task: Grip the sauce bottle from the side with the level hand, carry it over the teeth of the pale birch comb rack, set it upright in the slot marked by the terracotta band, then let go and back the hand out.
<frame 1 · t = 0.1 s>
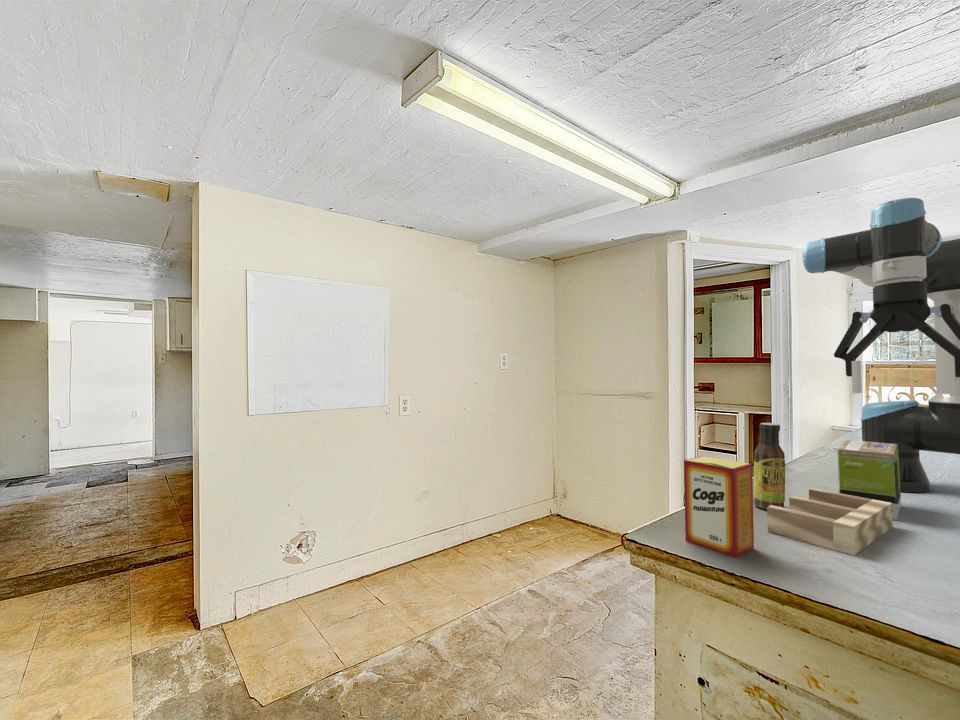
hand: (902, 394, 85), 28 cm above the counter, tool pointing down, fingers open, 13 cm apart
comb rack: (816, 525, 93), on the counter
sauce bottle: (769, 508, 105), on the counter
tea box: (870, 509, 104), on the counter
baking soda box: (718, 545, 85), on the counter
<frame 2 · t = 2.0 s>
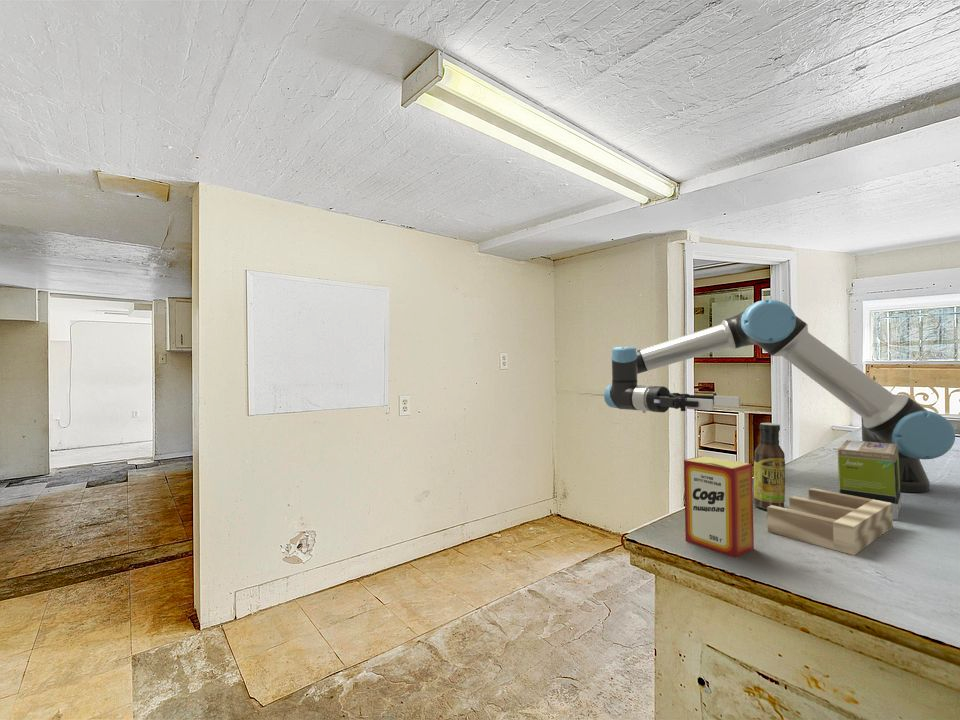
hand: (726, 403, 113), 24 cm above the counter, tool horizontal, fingers open, 13 cm apart
nothing on the counter moved.
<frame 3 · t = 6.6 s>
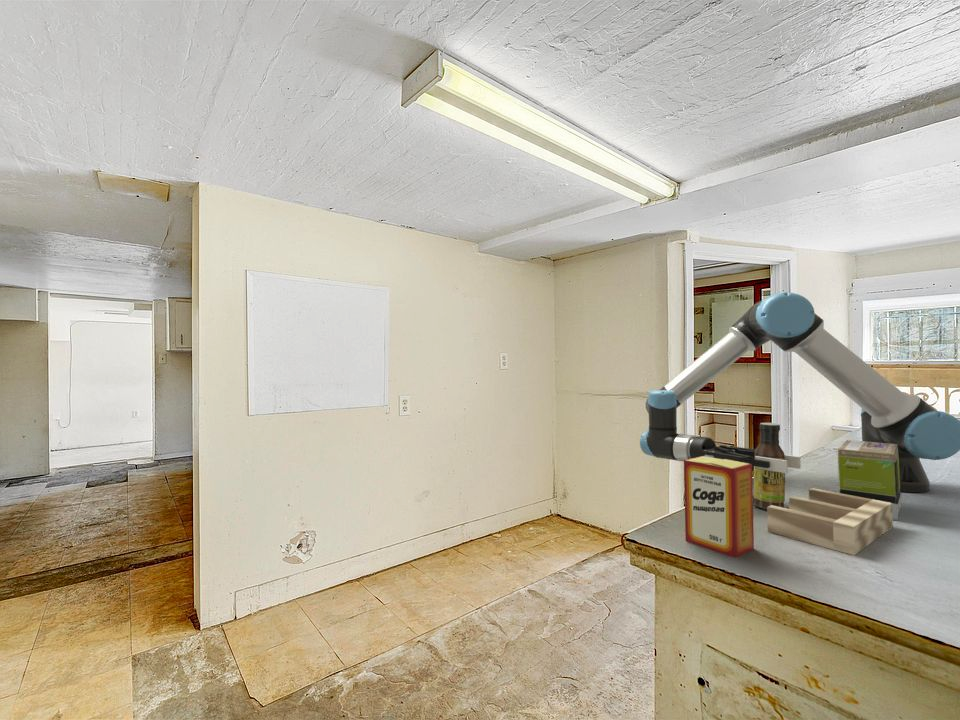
hand: (793, 464, 101), 11 cm above the counter, tool horizontal, fingers closed on sauce bottle, 6 cm apart
sauce bottle: (769, 508, 105), on the counter, touching gripper
everything else where it was.
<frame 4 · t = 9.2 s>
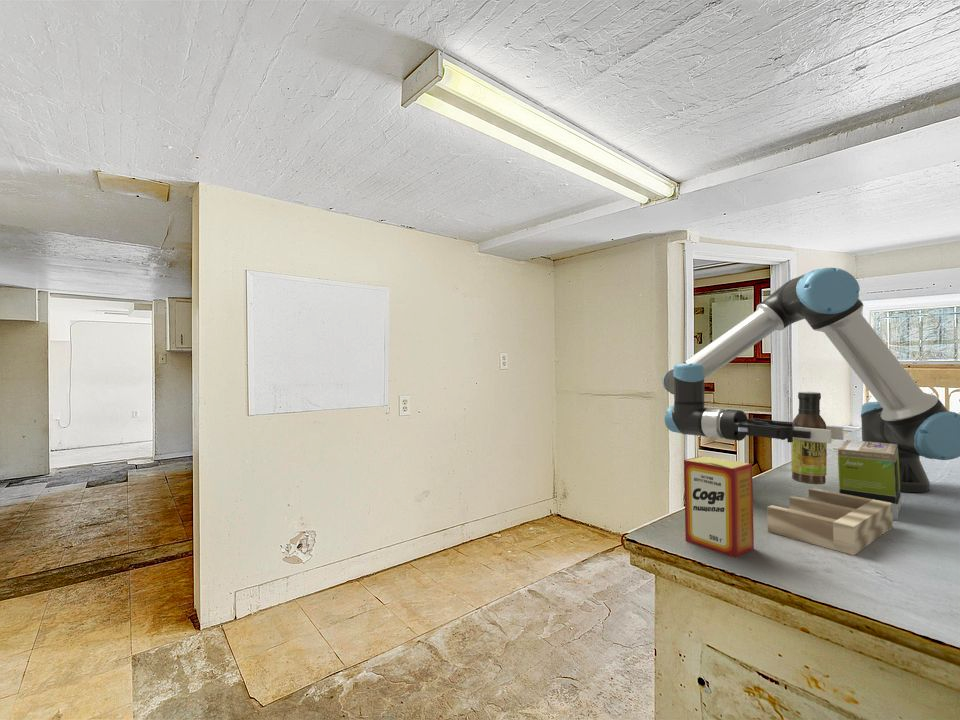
hand: (836, 435, 94), 19 cm above the counter, tool horizontal, fingers closed on sauce bottle, 6 cm apart
sauce bottle: (809, 483, 98), point 8 cm above the counter, touching gripper
everything else where it was.
when the fingers open (12 cm above the counter, at t = 11.9 s): sauce bottle drops 1 cm, resting in comb rack.
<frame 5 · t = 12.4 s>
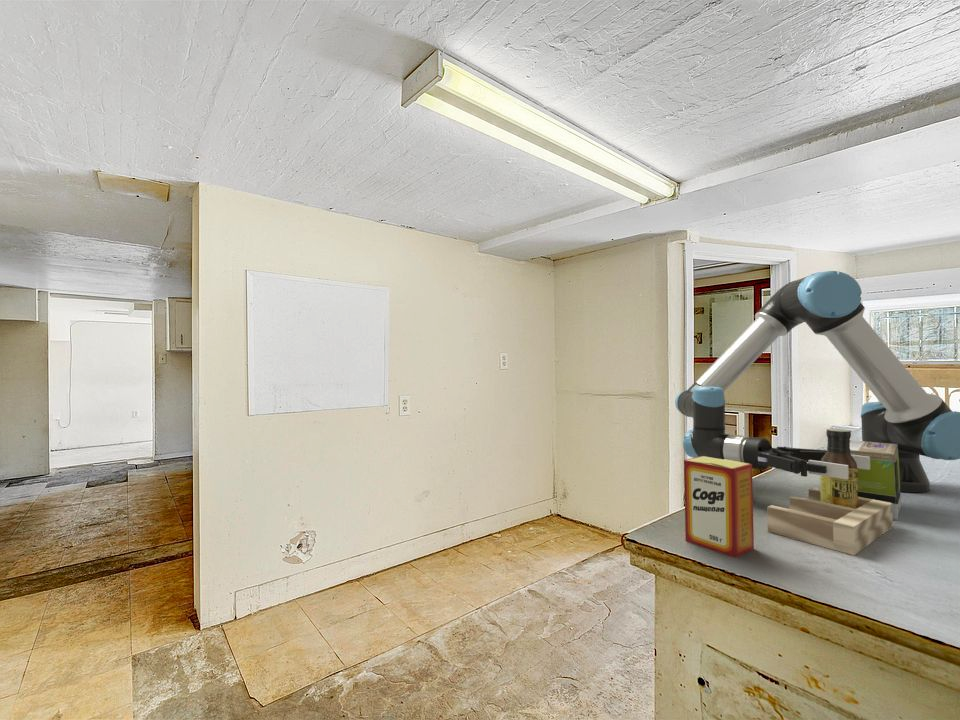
hand: (859, 467, 92), 12 cm above the counter, tool horizontal, fingers open, 12 cm apart
sauce bottle: (840, 524, 94), resting in comb rack
everything else where it was.
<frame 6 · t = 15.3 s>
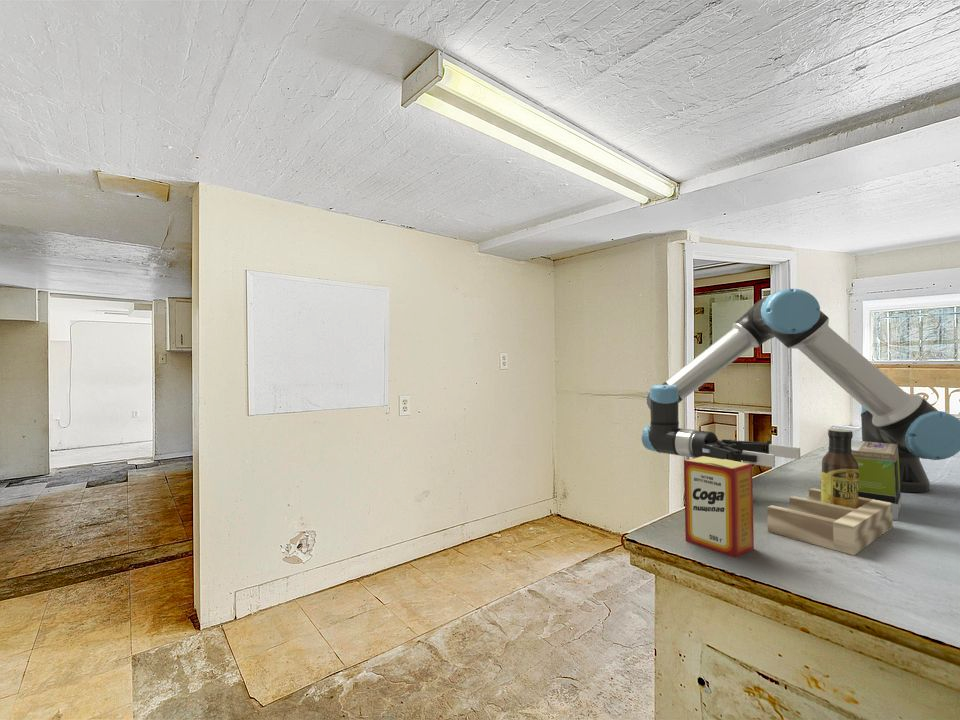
hand: (787, 457, 102), 13 cm above the counter, tool horizontal, fingers open, 13 cm apart
nothing on the counter moved.
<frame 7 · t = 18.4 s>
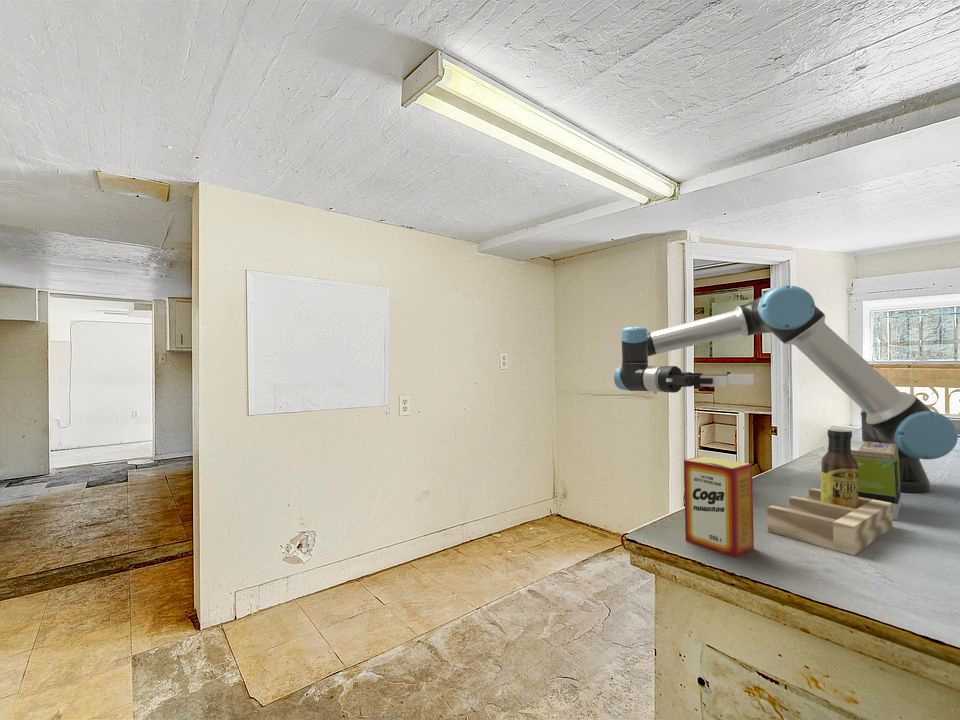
hand: (741, 380, 111), 30 cm above the counter, tool horizontal, fingers open, 13 cm apart
nothing on the counter moved.
at the end: sauce bottle 0.3 cm from the target spot, resting in comb rack; sauce bottle tilted 0°; the gripper is holding nothing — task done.
